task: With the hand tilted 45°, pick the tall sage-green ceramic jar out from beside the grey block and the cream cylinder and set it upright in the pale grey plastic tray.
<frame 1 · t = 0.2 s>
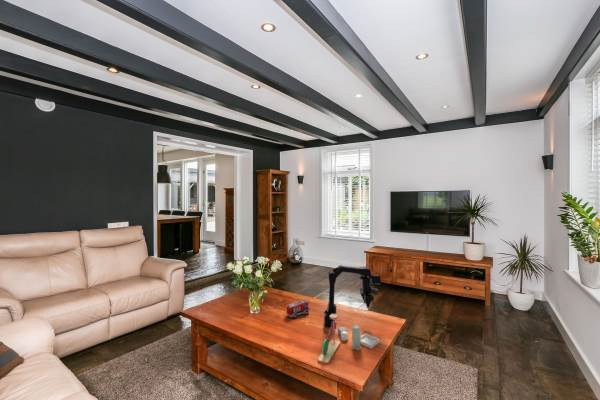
hand: (366, 305, 209), 15 cm above the table, tool pointing down, fingers open, 9 cm apart
grey block: (342, 334, 196), on the table
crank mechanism: (329, 352, 174), on the table
toy fire truck: (298, 314, 229), on the table
grey tray: (368, 342, 186), on the table
cream cylinder: (344, 339, 190), on the table
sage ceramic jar: (356, 347, 179), on the table
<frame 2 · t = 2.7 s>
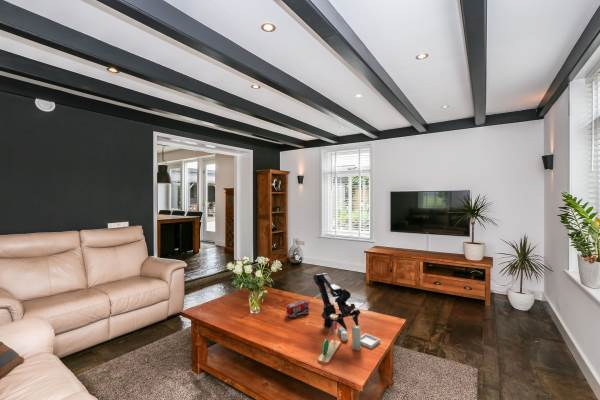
hand: (352, 328, 183), 11 cm above the table, tool tilted 45°, fingers open, 9 cm apart
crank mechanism: (329, 352, 174), on the table, touching gripper
everything else where it was.
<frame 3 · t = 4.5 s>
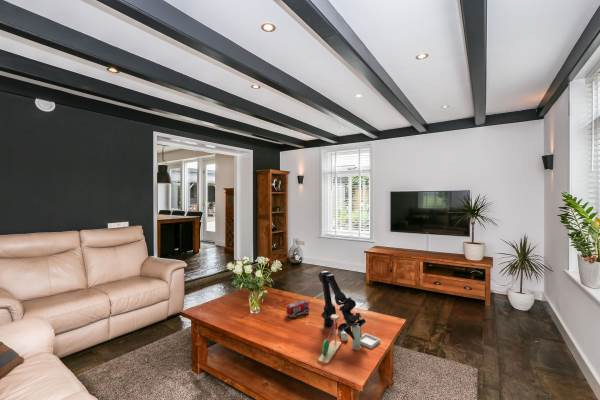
hand: (357, 338, 178), 7 cm above the table, tool tilted 45°, fingers closed on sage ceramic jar, 5 cm apart
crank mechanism: (330, 353, 174), on the table
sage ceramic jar: (356, 347, 179), on the table, touching gripper
everything else where it was.
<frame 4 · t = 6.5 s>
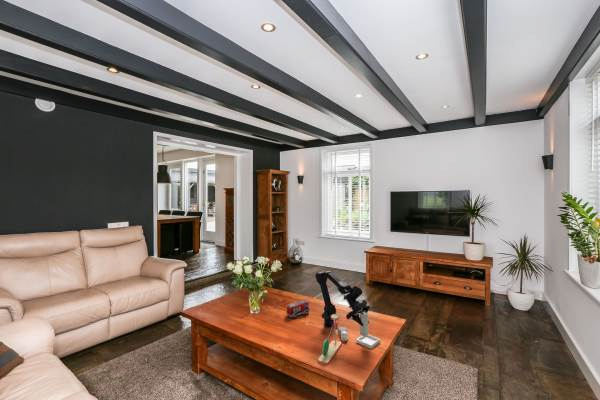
hand: (365, 324, 181), 13 cm above the table, tool tilted 45°, fingers closed on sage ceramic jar, 5 cm apart
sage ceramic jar: (364, 334, 183), point 7 cm above the table, touching gripper
everything else where it was.
when the fingers open (8 cm above the table, at t = 8.5 s): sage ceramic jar drops 1 cm, resting on grey tray.
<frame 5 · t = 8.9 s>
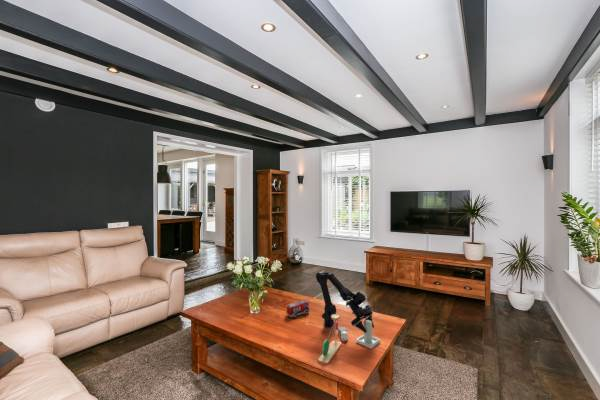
hand: (370, 329, 185), 9 cm above the table, tool tilted 45°, fingers open, 9 cm apart
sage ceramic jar: (368, 341, 186), point 1 cm above the table, touching grey tray
everything else where it was.
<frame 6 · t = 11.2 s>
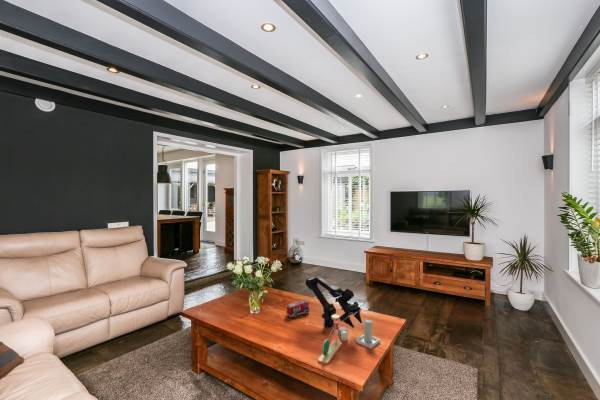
hand: (357, 325, 191), 8 cm above the table, tool tilted 45°, fingers open, 9 cm apart
nothing on the table moved.
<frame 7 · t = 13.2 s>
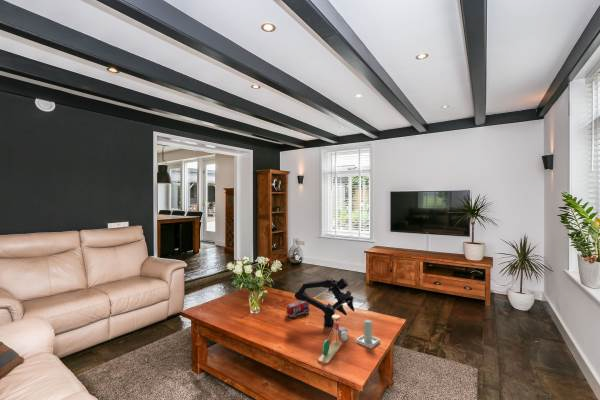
hand: (350, 313, 199), 14 cm above the table, tool tilted 45°, fingers open, 9 cm apart
nothing on the table moved.
at the end: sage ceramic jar 0.1 cm off-centre on the grey tray, point 0.5 cm above the grey tray's base; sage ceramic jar tilted 1°; the gripper is holding nothing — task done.
